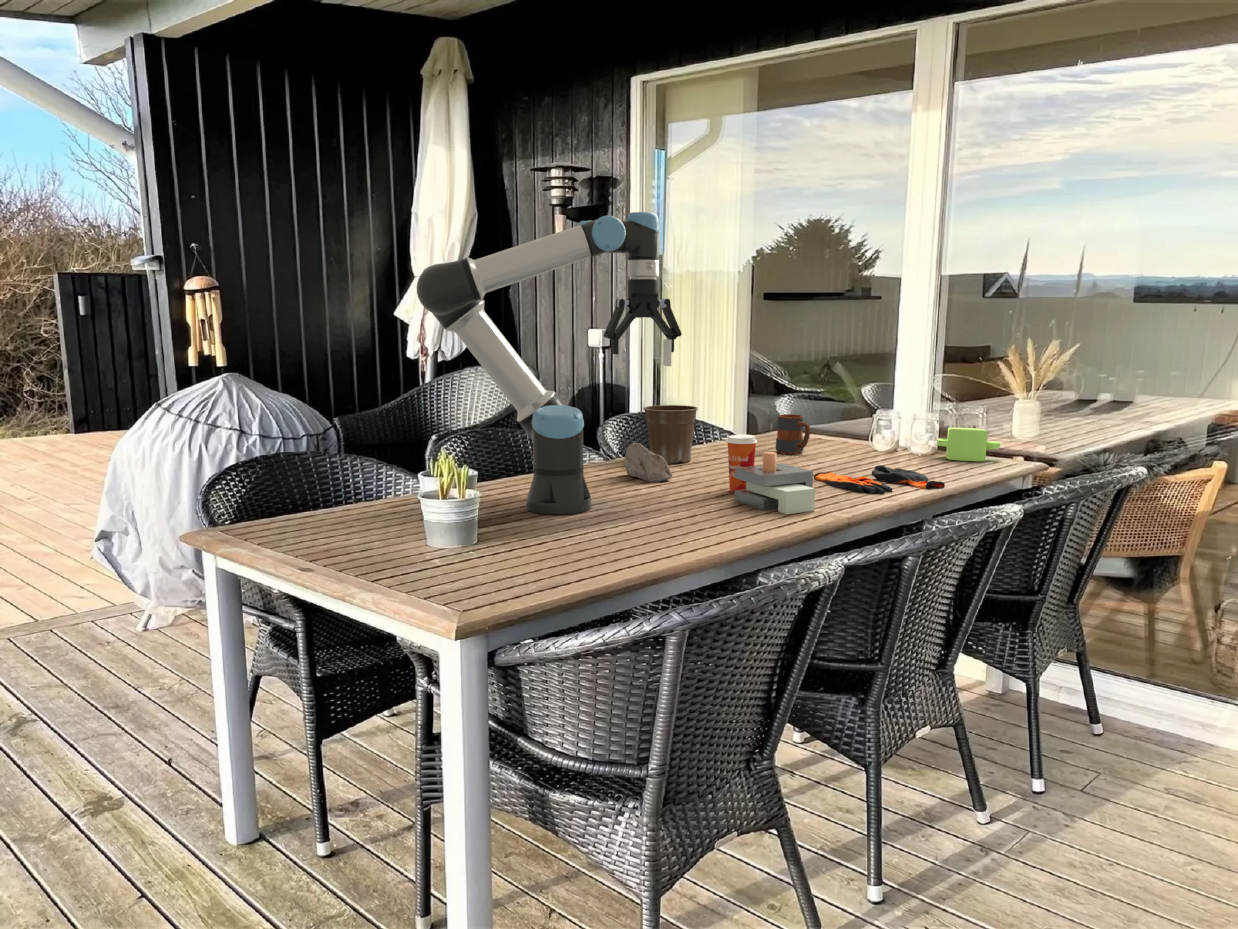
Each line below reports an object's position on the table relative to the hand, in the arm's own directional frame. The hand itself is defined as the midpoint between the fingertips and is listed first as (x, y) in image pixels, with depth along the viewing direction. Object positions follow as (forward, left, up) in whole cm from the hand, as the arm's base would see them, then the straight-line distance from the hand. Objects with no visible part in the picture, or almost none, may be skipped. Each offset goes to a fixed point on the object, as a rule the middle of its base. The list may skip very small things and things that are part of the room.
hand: (643, 367), depth 241 cm
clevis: (+22, -23, -32) cm, 45 cm away
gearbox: (+112, +1, -32) cm, 116 cm away
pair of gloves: (+62, -16, -32) cm, 72 cm away
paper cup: (+24, -8, -32) cm, 41 cm away
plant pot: (+31, +40, -32) cm, 60 cm away
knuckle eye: (+22, -27, -32) cm, 47 cm away
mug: (+72, +34, -32) cm, 86 cm away
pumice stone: (+11, +18, -32) cm, 38 cm away
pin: (+22, -23, -32) cm, 45 cm away
